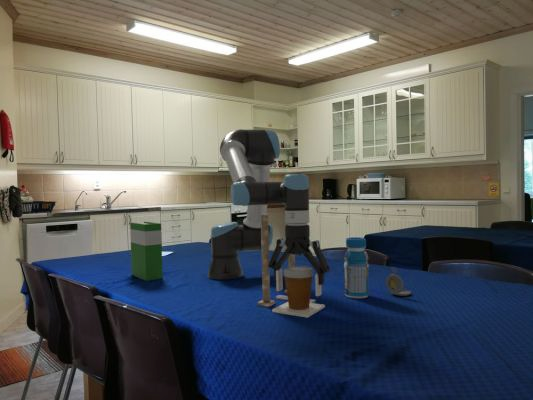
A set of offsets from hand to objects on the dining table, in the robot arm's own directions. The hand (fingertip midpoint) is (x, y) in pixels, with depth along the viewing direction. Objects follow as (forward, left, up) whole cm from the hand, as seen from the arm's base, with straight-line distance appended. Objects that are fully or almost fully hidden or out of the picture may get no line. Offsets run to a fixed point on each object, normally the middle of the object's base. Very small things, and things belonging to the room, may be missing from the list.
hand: (298, 292), depth 127 cm
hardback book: (-84, +14, -5) cm, 85 cm away
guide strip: (-6, +9, -5) cm, 12 cm away
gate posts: (-12, +9, -5) cm, 16 cm away
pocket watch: (+22, +32, -5) cm, 39 cm away
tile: (0, 0, -5) cm, 5 cm away
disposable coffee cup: (0, 0, -5) cm, 5 cm away
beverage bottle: (+10, +24, -5) cm, 27 cm away
